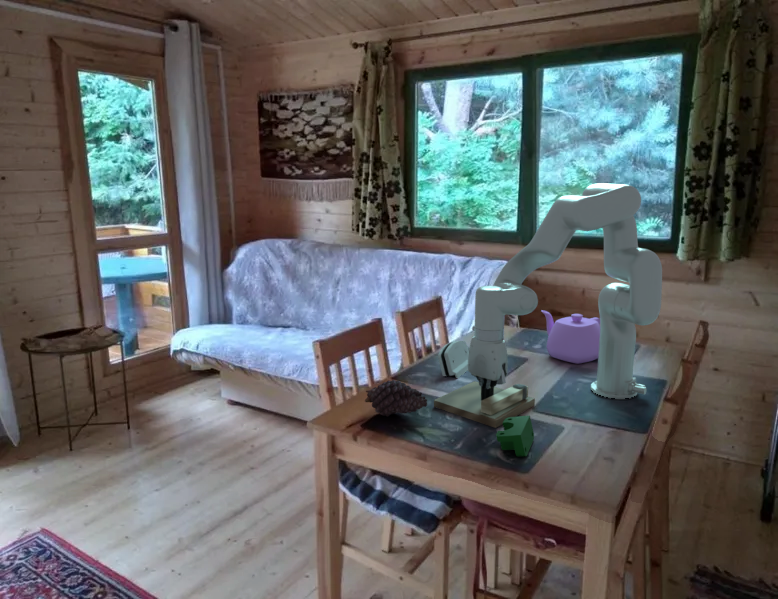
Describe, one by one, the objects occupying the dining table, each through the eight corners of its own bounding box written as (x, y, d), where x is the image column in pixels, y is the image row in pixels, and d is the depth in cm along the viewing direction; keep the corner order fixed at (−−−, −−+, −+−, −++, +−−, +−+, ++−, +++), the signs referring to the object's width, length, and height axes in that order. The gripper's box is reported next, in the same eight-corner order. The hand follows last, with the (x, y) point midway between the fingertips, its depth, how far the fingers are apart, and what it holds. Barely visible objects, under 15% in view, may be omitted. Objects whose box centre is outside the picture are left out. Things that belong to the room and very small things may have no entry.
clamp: (511, 455, 143) (507, 417, 145) (536, 454, 140) (531, 415, 142) (496, 458, 132) (492, 417, 134) (523, 456, 130) (518, 414, 132)
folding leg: (517, 393, 163) (517, 383, 162) (529, 396, 160) (529, 386, 160) (479, 411, 152) (480, 400, 151) (492, 415, 149) (492, 404, 148)
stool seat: (534, 405, 161) (534, 397, 160) (495, 428, 148) (496, 419, 147) (474, 387, 174) (474, 380, 174) (433, 406, 161) (433, 399, 160)
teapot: (617, 356, 200) (620, 313, 197) (580, 369, 188) (582, 324, 184) (562, 341, 218) (564, 301, 214) (524, 352, 205) (525, 310, 202)
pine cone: (432, 413, 157) (432, 378, 155) (420, 429, 148) (420, 391, 146) (371, 404, 163) (370, 370, 161) (356, 419, 154) (355, 383, 152)
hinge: (457, 379, 181) (447, 348, 181) (444, 381, 184) (434, 351, 183) (477, 363, 195) (467, 334, 195) (464, 365, 198) (455, 337, 197)
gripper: (457, 330, 155) (456, 396, 159) (503, 343, 144) (500, 413, 148) (476, 325, 160) (474, 389, 164) (521, 337, 149) (518, 404, 153)
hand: (487, 400), depth 156 cm, fingers closed
